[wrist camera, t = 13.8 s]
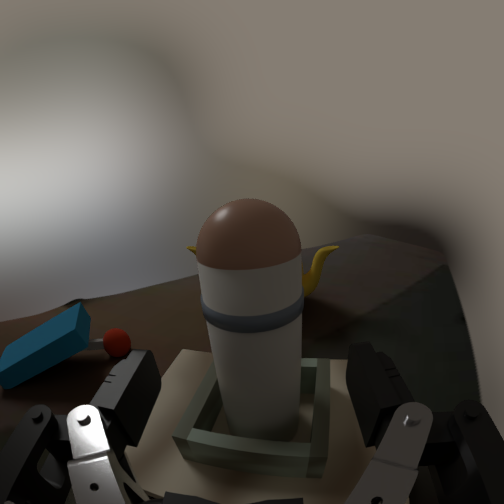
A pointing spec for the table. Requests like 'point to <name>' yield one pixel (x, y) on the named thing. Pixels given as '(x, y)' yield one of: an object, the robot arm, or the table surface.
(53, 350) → the lever
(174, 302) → the table surface
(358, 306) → the table surface
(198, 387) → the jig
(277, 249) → the brown-capped white canister
